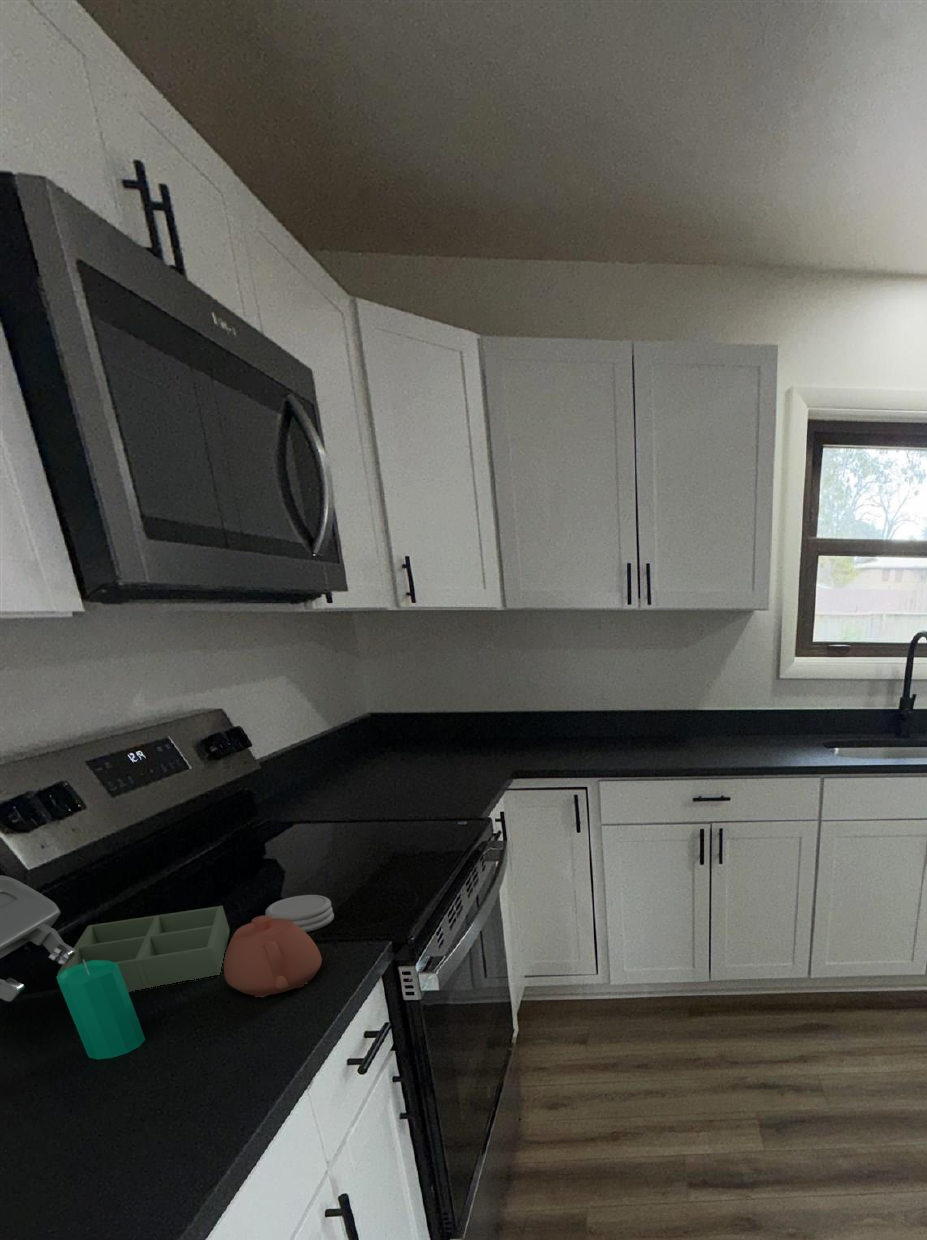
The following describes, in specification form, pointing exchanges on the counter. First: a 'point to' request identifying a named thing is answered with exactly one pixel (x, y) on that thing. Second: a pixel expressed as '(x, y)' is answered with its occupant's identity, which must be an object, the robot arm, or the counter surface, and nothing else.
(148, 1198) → the counter surface
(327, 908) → the grey round flat stack
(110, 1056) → the candle
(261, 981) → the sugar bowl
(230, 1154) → the counter surface
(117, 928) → the grid
